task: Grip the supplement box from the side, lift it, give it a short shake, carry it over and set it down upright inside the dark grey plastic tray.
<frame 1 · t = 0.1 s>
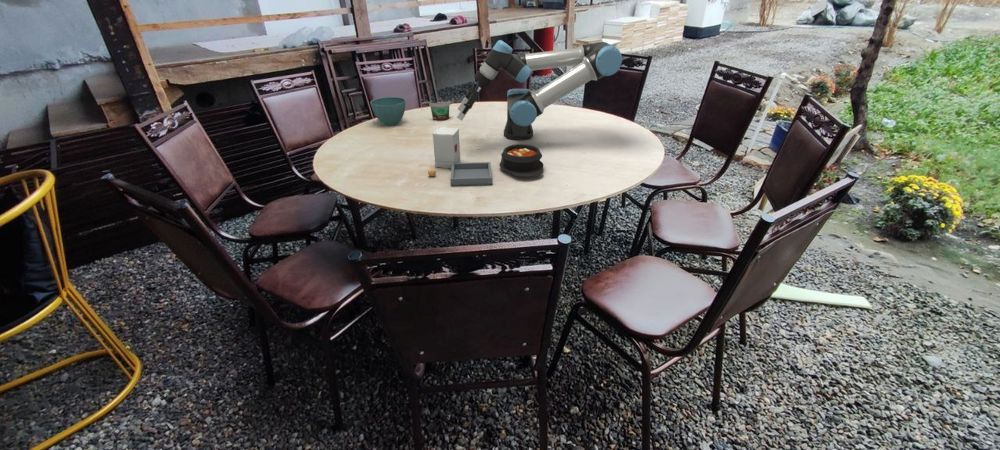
hand: (459, 114, 192), 15 cm above the table, tool tilted 35°, fingers open, 13 cm apart
supplement box: (448, 164, 182), on the table
plant pot: (391, 123, 231), on the table
tray: (471, 177, 170), on the table
food container: (442, 120, 237), on the table
casserole: (521, 169, 177), on the table
ball: (432, 176, 171), on the table
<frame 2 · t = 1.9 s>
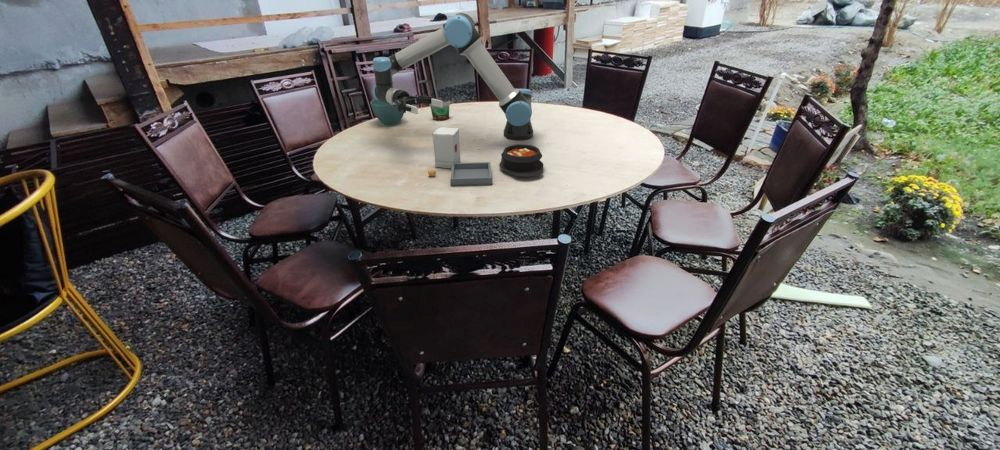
hand: (429, 107, 175), 23 cm above the table, tool horizontal, fingers open, 13 cm apart
nothing on the table moved.
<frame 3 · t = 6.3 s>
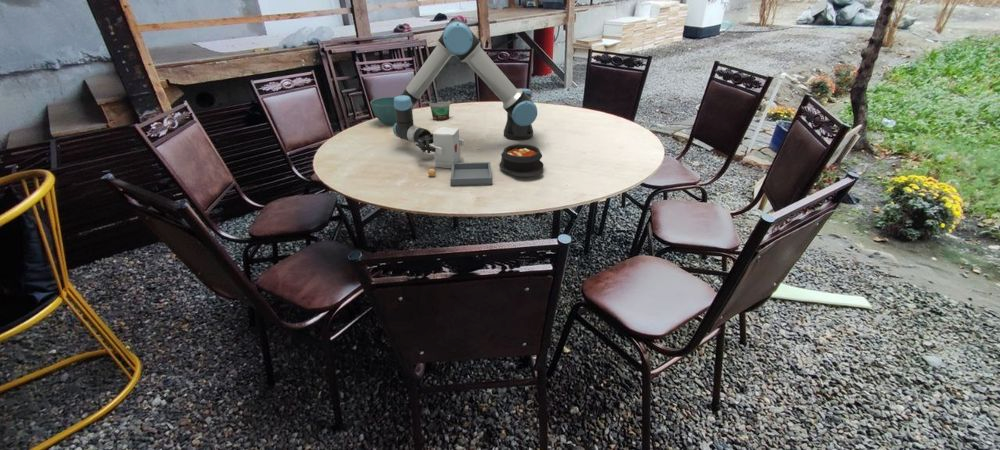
hand: (452, 147, 175), 9 cm above the table, tool horizontal, fingers closed on supplement box, 12 cm apart
supplement box: (448, 164, 182), on the table, touching gripper
everything else where it was.
when the fingers open (10 cm above the table, at t = 13.7 s): supplement box drops 1 cm, resting on tray.
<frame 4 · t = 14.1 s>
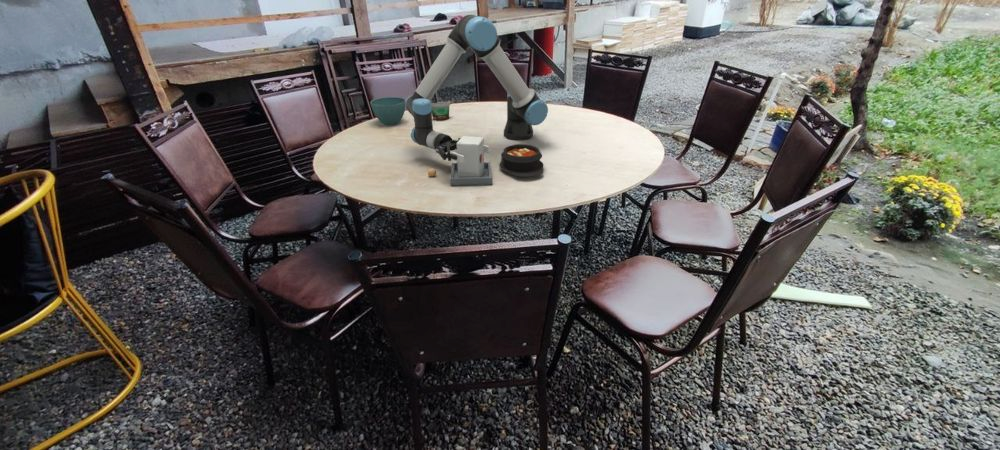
hand: (476, 154, 163), 10 cm above the table, tool horizontal, fingers open, 13 cm apart
supplement box: (471, 176, 170), resting on tray
everything else where it was.
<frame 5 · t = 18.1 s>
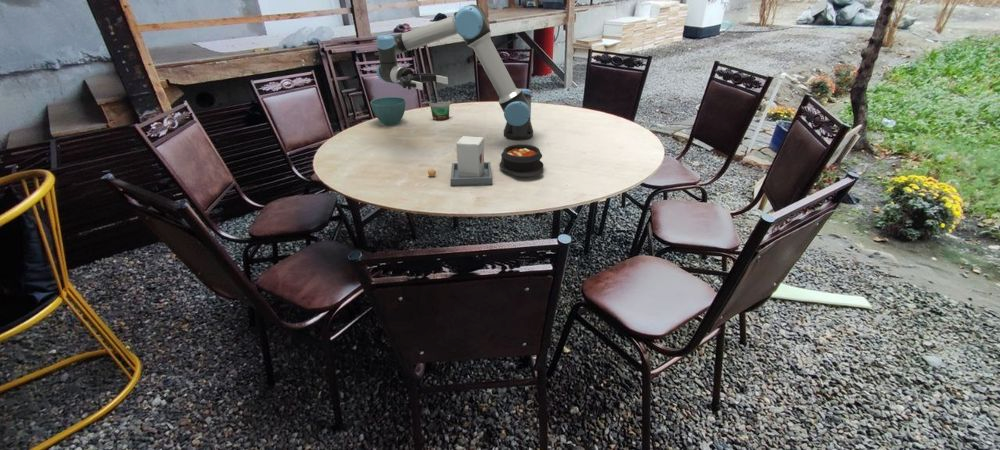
hand: (435, 83, 172), 32 cm above the table, tool horizontal, fingers open, 13 cm apart
nothing on the table moved.
at the end: supplement box inside the target area on the tray (0.1 cm from its centre), point 0.4 cm above the tray's base; supplement box tilted 0°; the gripper is holding nothing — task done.
